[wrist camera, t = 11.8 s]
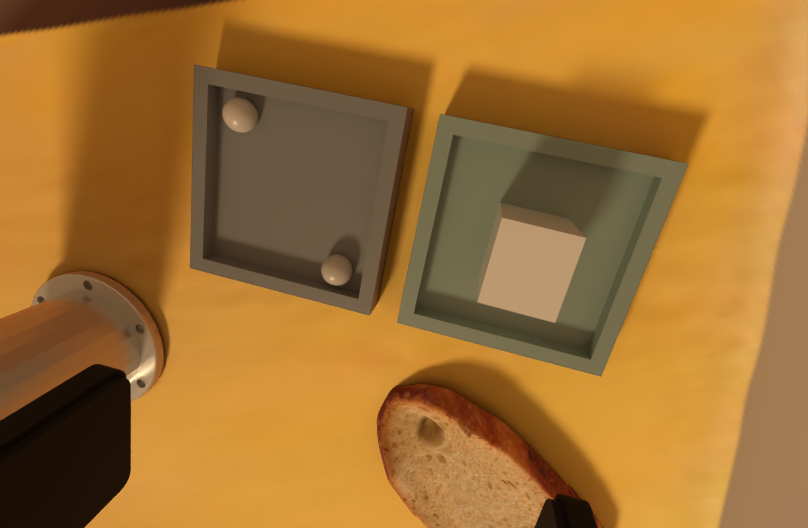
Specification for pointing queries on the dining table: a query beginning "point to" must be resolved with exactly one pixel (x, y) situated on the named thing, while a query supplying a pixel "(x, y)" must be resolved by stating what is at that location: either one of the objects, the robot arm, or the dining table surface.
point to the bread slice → (461, 462)
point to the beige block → (529, 262)
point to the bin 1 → (294, 186)
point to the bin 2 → (545, 192)
